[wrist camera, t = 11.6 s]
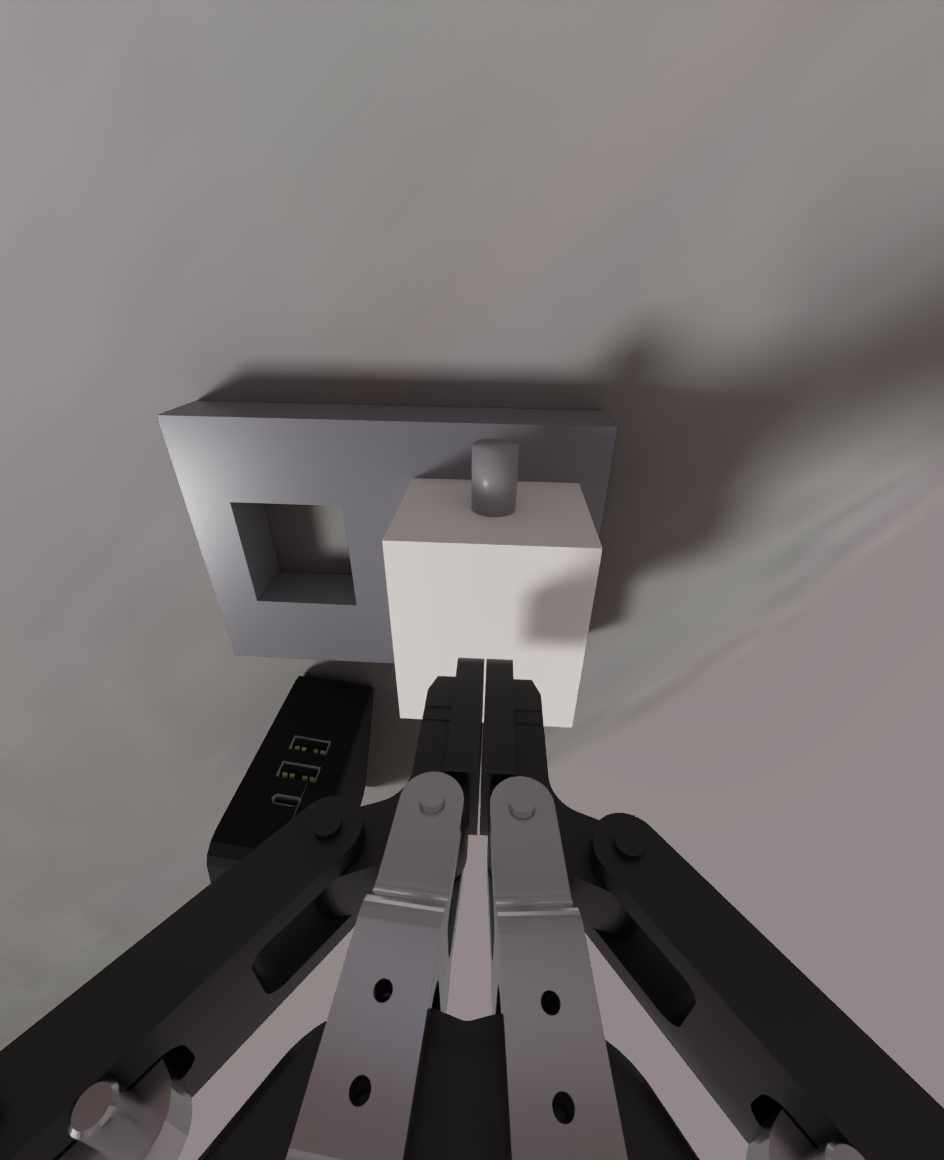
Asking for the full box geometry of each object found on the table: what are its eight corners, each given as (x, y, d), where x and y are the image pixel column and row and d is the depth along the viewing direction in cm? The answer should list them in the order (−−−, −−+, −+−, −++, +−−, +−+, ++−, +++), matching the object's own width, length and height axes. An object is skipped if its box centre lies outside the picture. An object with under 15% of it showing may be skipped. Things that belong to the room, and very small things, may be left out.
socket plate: (196, 400, 19) (156, 415, 17) (605, 410, 18) (617, 427, 16) (259, 623, 25) (235, 655, 23) (570, 638, 24) (576, 672, 22)
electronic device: (375, 681, 26) (313, 869, 18) (365, 789, 32) (313, 974, 23) (300, 667, 26) (201, 851, 18) (302, 779, 31) (226, 961, 23)
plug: (418, 409, 18) (374, 469, 12) (579, 412, 18) (614, 476, 12) (428, 604, 23) (400, 718, 17) (555, 610, 22) (571, 727, 17)
